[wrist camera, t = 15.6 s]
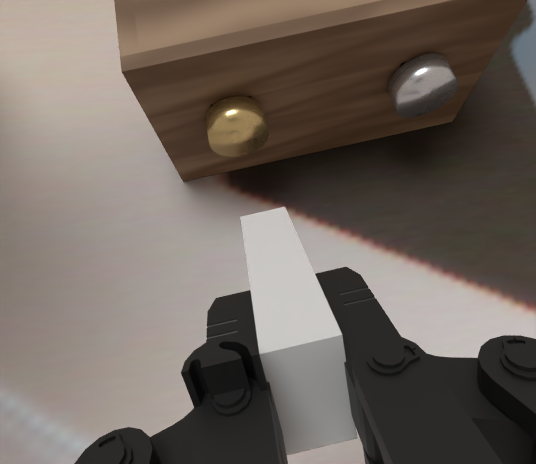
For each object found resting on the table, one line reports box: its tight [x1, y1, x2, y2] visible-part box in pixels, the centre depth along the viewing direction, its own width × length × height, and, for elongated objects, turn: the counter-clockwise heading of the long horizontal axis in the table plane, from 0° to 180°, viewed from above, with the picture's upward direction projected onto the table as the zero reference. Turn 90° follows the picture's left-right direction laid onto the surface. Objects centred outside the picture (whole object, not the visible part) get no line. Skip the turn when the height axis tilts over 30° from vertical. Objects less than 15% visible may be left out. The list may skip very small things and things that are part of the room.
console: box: [114, 0, 527, 182], centre depth 32 cm, size 10×26×14 cm, turn 102°
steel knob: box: [388, 53, 458, 118], centre depth 30 cm, size 6×4×4 cm
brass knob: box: [205, 96, 269, 157], centre depth 30 cm, size 6×4×4 cm
